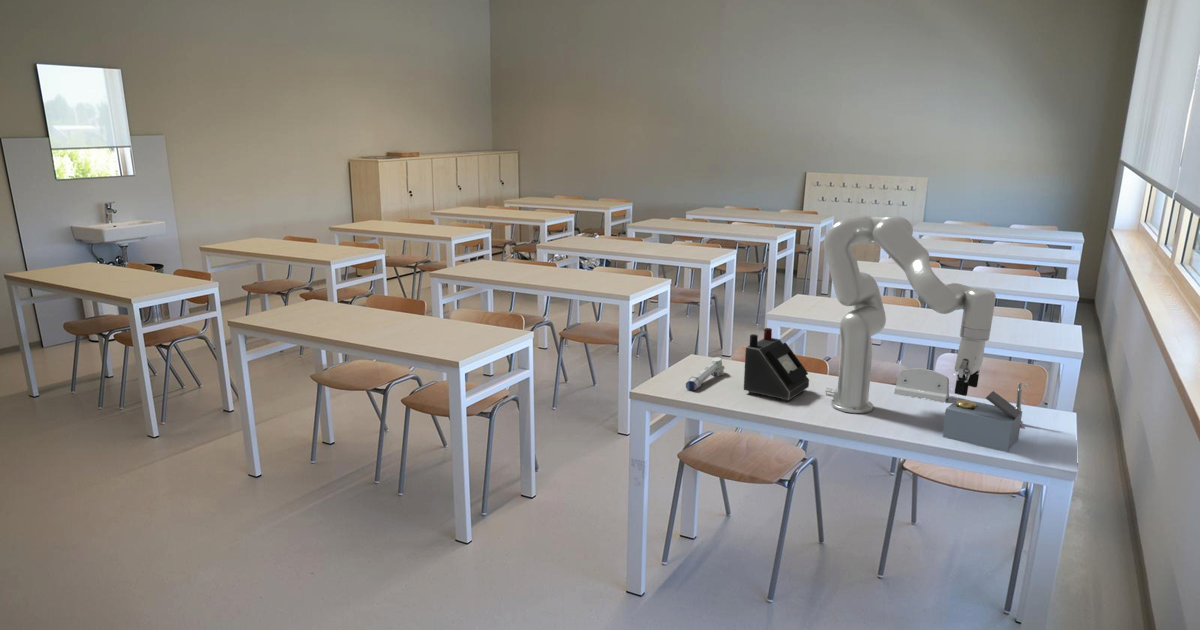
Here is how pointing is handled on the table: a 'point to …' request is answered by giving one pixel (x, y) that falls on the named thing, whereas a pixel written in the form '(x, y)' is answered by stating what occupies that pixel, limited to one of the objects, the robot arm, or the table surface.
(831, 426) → the table surface
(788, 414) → the table surface
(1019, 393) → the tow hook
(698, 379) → the grey blue-ended cylinder
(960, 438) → the grey rectangular box
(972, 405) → the brass pin
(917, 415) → the table surface
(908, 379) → the hinge
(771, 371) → the voltmeter
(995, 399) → the grey flat rectangular plate
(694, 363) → the table surface
